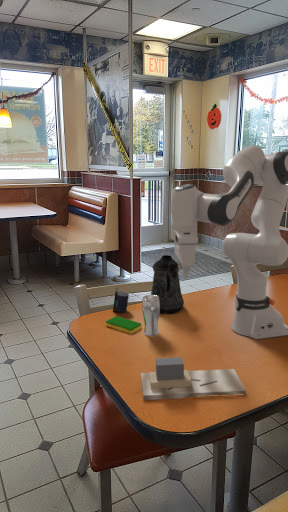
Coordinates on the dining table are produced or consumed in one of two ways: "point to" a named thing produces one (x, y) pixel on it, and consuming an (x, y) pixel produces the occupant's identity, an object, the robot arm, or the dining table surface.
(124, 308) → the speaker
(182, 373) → the block
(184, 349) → the dining table surface
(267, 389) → the dining table surface
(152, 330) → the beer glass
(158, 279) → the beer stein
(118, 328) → the dish sponge
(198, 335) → the dining table surface
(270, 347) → the dining table surface
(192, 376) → the marked board
